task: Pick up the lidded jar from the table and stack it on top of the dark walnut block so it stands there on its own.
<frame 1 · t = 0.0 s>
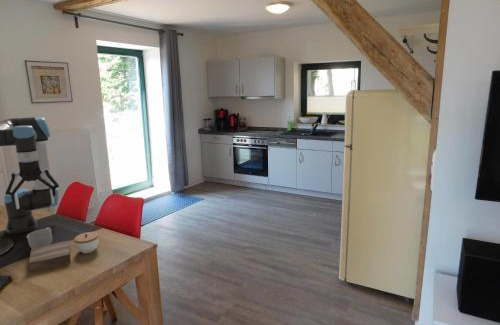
hand: (36, 205, 148), 28 cm above the table, tool pointing down, fingers open, 13 cm apart
walnut block: (51, 260, 155), on the table
lidded jar: (88, 250, 163), on the table
teacup: (43, 245, 169), on the table
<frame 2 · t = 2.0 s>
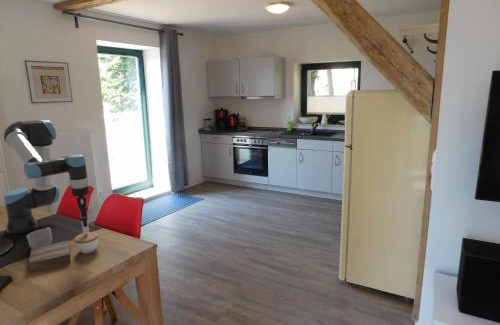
hand: (85, 227, 160), 13 cm above the table, tool pointing down, fingers open, 13 cm apart
nothing on the table moved.
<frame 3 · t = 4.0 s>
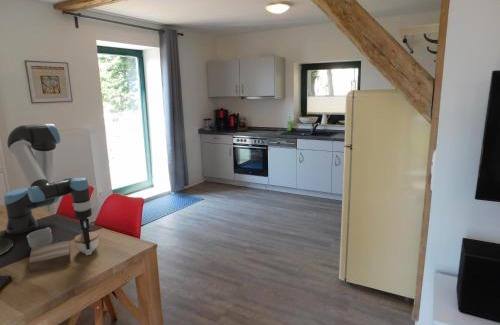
hand: (88, 249, 163), 0 cm above the table, tool pointing down, fingers closed on lidded jar, 11 cm apart
lidded jar: (88, 250, 163), on the table, touching gripper
everything else where it was.
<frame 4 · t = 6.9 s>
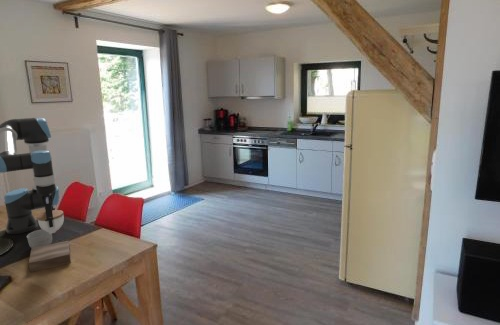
hand: (52, 228, 153), 16 cm above the table, tool pointing down, fingers closed on lidded jar, 11 cm apart
lidded jar: (52, 229, 153), point 15 cm above the table, touching gripper
everything else where it was.
when the fingers open (7 cm above the table, at t = 10.1 s): lidded jar drops 2 cm, resting on walnut block.
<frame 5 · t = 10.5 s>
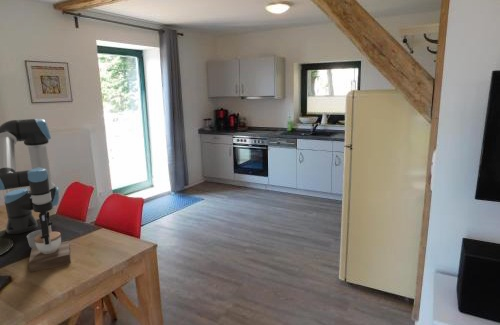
hand: (49, 244, 153), 8 cm above the table, tool pointing down, fingers open, 13 cm apart
walnut block: (51, 260, 155), on the table, touching lidded jar
lidded jar: (50, 251, 154), point 4 cm above the table, touching walnut block
everything else where it was.
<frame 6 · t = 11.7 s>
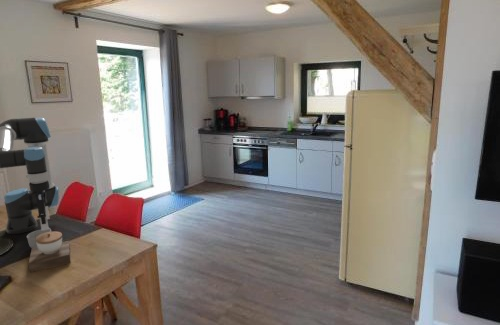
hand: (45, 224, 151), 18 cm above the table, tool pointing down, fingers open, 13 cm apart
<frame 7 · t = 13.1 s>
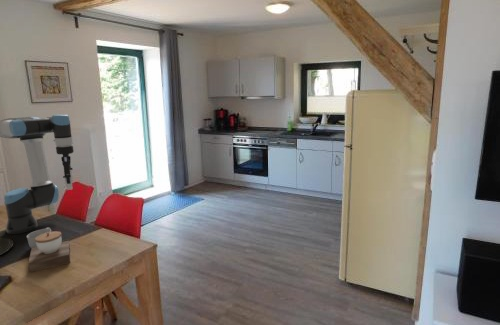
hand: (69, 185, 166), 31 cm above the table, tool pointing down, fingers open, 13 cm apart
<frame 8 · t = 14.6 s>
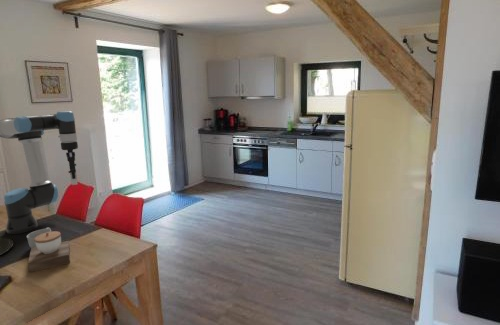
hand: (74, 181, 169), 33 cm above the table, tool pointing down, fingers open, 13 cm apart
walnut block: (51, 260, 155), on the table
lidded jar: (50, 251, 154), point 4 cm above the table
everything else where it was.
at the end: lidded jar inside the target area on the walnut block (0.3 cm from its centre), point 4.9 cm above the walnut block's base; lidded jar tilted 2°; the gripper is holding nothing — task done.
